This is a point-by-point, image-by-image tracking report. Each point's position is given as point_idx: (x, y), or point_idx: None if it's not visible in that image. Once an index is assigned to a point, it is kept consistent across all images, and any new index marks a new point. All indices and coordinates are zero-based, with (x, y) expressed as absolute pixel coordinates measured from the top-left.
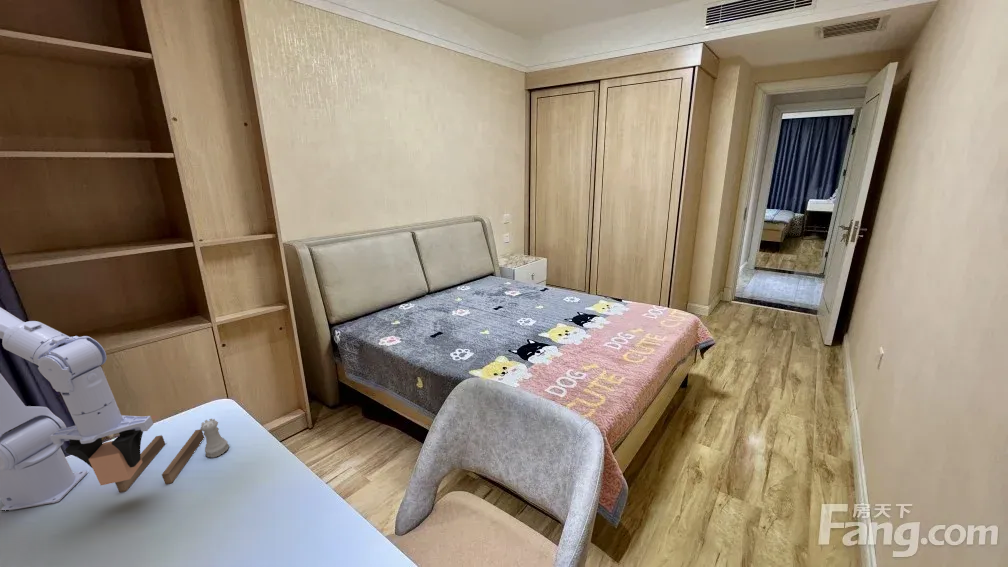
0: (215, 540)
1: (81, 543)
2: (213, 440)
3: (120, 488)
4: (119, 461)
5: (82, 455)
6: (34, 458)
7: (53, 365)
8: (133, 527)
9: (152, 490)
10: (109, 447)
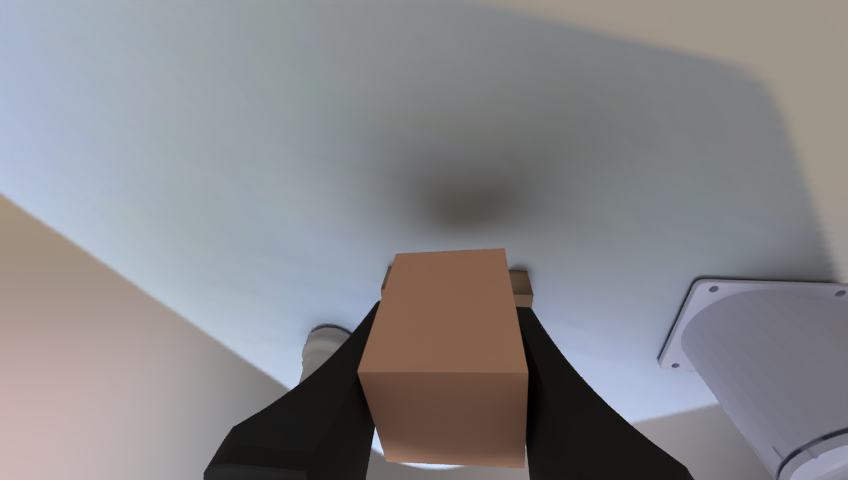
0: None
1: (534, 80)
2: (306, 373)
3: (521, 278)
4: (384, 325)
5: (574, 412)
6: None
7: None
8: (395, 113)
9: None
10: (459, 429)
